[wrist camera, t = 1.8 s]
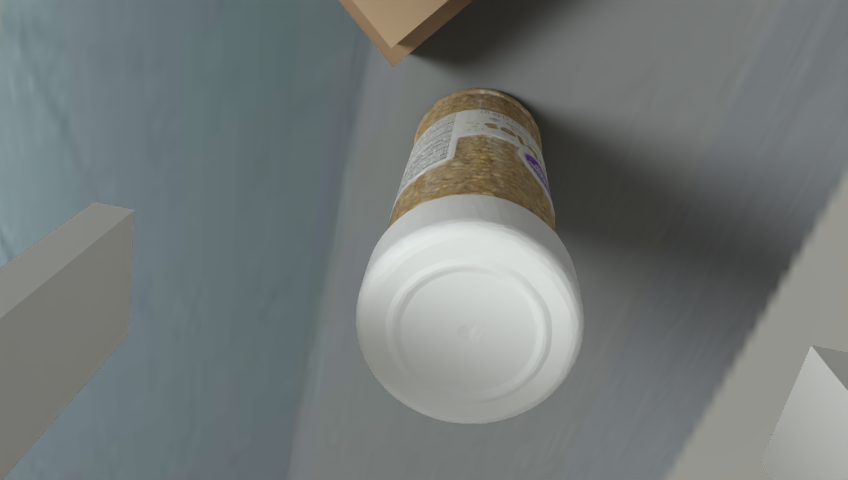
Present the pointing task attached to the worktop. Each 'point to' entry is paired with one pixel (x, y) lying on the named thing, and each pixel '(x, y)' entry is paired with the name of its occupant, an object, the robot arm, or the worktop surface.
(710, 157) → the worktop surface
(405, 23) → the pedestal
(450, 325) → the sprinkles bottle
